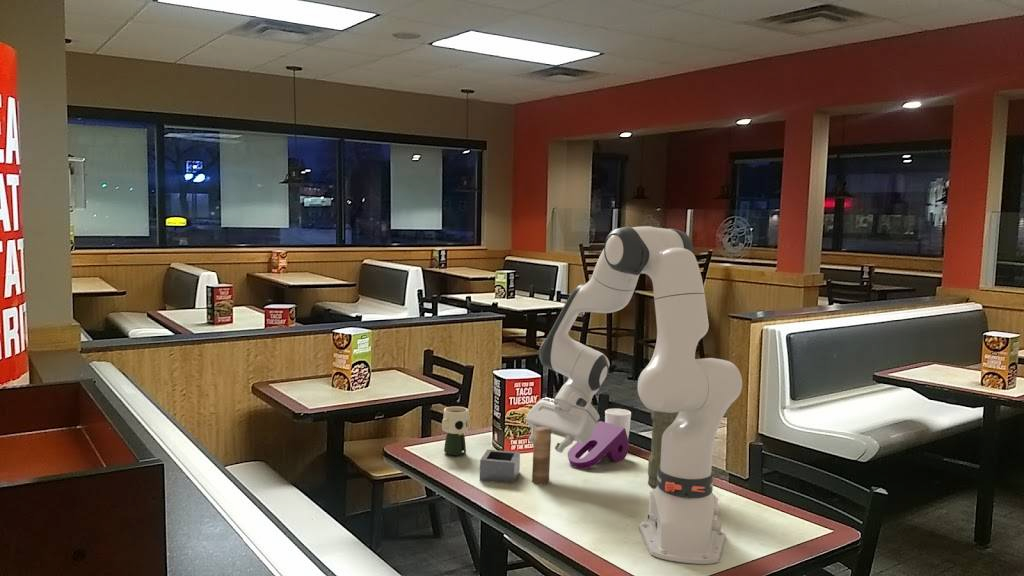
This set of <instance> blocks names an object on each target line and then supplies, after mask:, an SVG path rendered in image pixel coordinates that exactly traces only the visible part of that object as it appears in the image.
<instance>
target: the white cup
mask: <svg viewBox="0 0 1024 576" xmlns="http://www.w3.org/2000/svg"><path fill="white" fill-rule="evenodd" d="M604 415H605V416H604V422H606V423H609V424H613V425H616V426H620V427H623V428H625V430H626V434H627V437H628V438H629V435H630V430H631V428H630V427H631V418H632V412H631V411H630V410H628V409H625V408H624V409H623V408H608V409H606V410H604Z"/></svg>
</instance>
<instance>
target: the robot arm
mask: <svg viewBox="0 0 1024 576" xmlns="http://www.w3.org/2000/svg"><path fill="white" fill-rule="evenodd" d="M700 269H701V268H700V266H699V263H698V261H697V257H696V256H695V254H694V245H693V242H692V239H691V238H690V236H689V235H688V233H686V232H684V231H682V230H679V229H676V228H663V227H662V228H661V227H654V226H649V225H647V226H645V225H644V226H632V227H631V226H622V227H619V228H615V229H613V230H611V231H610V233H609V234H608V235H607V236H606V239H605V242H604V247H603V249H602V251H601V253H600V255H599V258H598V260H597V262H596V264H595V266H594V269H593V272H592V275H591V277H590V279H589V280H588V281H587V282H586V283H582V284H579V285H578V286H576V287H575V289H574V290H573V291H572V292H571V294H570V295H569V297H568V298H567V300H566V302H565V304H564V305H563V307H562V309H561V311H560V313H559V315H558V316H557V319H556V320H555V321H554V323H553V325H552V328H551V329H550V331H549V333H548V334H547V336H546V338H545V339H543V341H542V343H541V345H540V347H539V350H538V358H539V361H540V363H541V365H542V367H544V368H545V369H547V370H548V369H549V370H551V371H553V372H556V373H558V374H561V375H562V376H565V377H566V378H568V379H567V381H566V382H565V383H564V384H563V385H562V386H561V388H560V389H559V390H558V391H557V394H556V395H555V397H554V398H550V397H544V398H541V399H538V401H536V403H535V404H534V405H533V406H532V407H531V408H530V410H529V411H528V412H527V414H526V415H525V422H526V423H527V425H528V426H529V427H530V428H531V429H530V430H531V431H530V435H529V437H528V440H527V441H528V442H529V443H530V444H533V445H534V428H536V427H548V428H550V429H551V435H556V436H559V437H562V438H564V440H563V441H561V442H557V443H556V446H555V447H554V450H555V451H556V452H558V453H561V454H562V453H563V452H564V450H565V448H567V447H569V446H570V445H572V444H573V442H574V441H575V442H576V443H577V442H580V443H585V442H586V441H588V439H589V438H590V436H591V435H592V433H593V431H594V428H595V425H596V424H597V423H598V422H599V421H600V418H601V417H600V414H599V412H598V411H597V409H596V408H595V407H594V406H593V404H592V399H593V398H594V395H595V394H596V393H598V391H599V390H600V389H601V387H603V384H604V383H605V382H606V379H607V377H608V375H609V372H610V370H609V369H610V365H611V364H610V360H609V358H608V357H607V356H606V355H605V354H604V353H603V352H601V351H599V350H596V349H594V348H592V347H590V346H587V345H585V344H583V343H581V342H580V341H577V340H575V339H573V338H572V337H571V336H570V334H569V332H570V331H571V328H572V326H573V325H574V323H575V322H576V319H577V318H578V317H579V314H580V313H597V314H610V313H615V312H618V311H621V310H623V309H624V308H625V307H626V306H628V305H629V303H630V301H631V299H632V297H633V294H634V292H635V289H636V287H637V283H638V280H639V277H640V275H641V274H645V275H647V276H649V278H650V280H651V283H652V289H653V291H652V292H653V301H654V311H655V320H656V343H655V346H654V351H653V354H652V356H651V359H650V360H649V363H648V364H647V365H645V368H643V370H642V371H641V372H640V374H639V377H638V379H637V394H638V397H639V399H640V401H641V402H642V405H644V407H646V408H647V409H648V410H650V411H651V412H652V411H658V412H666V413H674V412H679V414H678V416H677V417H676V419H675V421H674V422H673V423H672V424H671V425H670V426H669V427H668V428H667V429H666V430H665V431H664V433H663V436H662V444H661V461H660V467H659V468H658V473H657V485H658V486H657V487H656V488H655V489H654V488H653V490H652V491H650V492H649V501H648V511H647V512H648V513H647V520H645V521H641V522H639V525H638V529H639V532H640V535H641V536H642V538H643V540H644V543H645V545H646V547H647V550H648V551H649V554H650V555H651V556H654V557H656V558H658V559H661V560H662V559H663V560H666V561H669V562H670V561H671V562H677V563H684V564H685V563H686V564H697V565H698V564H699V565H701V564H702V565H705V564H706V565H709V564H717V563H719V562H720V559H721V557H722V552H723V549H724V545H725V541H726V537H727V536H726V531H725V530H723V529H722V521H721V520H717V519H718V516H720V514H721V509H719V508H718V502H719V500H718V499H719V498H718V497H717V496H716V495H715V494H714V493H713V487H714V474H713V472H712V466H713V455H714V444H715V439H716V436H717V433H718V430H719V427H720V425H721V422H722V420H723V417H724V415H725V414H726V412H727V410H728V409H729V408H730V406H731V405H732V404H733V403H734V402H735V401H736V400H737V399H738V397H740V395H741V393H742V391H743V378H742V374H741V372H740V370H739V368H738V367H737V366H736V365H735V363H733V362H731V361H729V360H727V359H726V360H725V359H720V358H714V357H707V358H706V357H705V358H704V357H703V358H696V351H697V346H698V344H699V342H700V341H701V339H702V338H704V337H705V336H706V335H707V333H708V331H709V326H710V324H709V318H708V307H707V300H706V294H705V288H704V282H703V278H702V277H703V276H702V274H701V270H700Z"/></svg>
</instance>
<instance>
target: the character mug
mask: <svg viewBox="0 0 1024 576" xmlns="http://www.w3.org/2000/svg"><path fill="white" fill-rule="evenodd" d="M469 412H470V411H469V409H468V408H466V407H464V406H448V407H444V409H443V416H442V417H443V419H442V421H441V429H442V431H443V432H445V433H446V437H445V441H444V449H443V452H444V453H446V454H449V455H450V456H461V455H463V454H466V453H467V448H466V446H467V444H466V439H465V438H466V437H465V434H466V433H467V432H468V430H469V423H470V413H469Z"/></svg>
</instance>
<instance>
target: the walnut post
mask: <svg viewBox="0 0 1024 576" xmlns="http://www.w3.org/2000/svg"><path fill="white" fill-rule="evenodd" d="M551 439H552V434H551V429H550V428H548V427H536V428H534V444H533V446H532V447H533V448H532V449H533V450H532V453H533V454H532V471H531V472H532V474H531V477H532V479H531V481H532V483H533V484H535V483H536V485H540V484H543V485H548V484H549V483H550V467H551V444H552V443H551V442H552V440H551Z"/></svg>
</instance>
